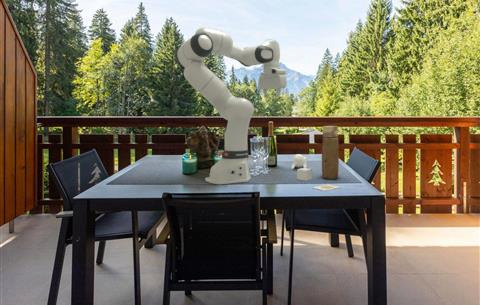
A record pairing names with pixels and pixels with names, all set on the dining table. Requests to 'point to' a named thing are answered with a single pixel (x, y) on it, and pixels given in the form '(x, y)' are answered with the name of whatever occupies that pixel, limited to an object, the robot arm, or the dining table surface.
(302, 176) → the grey cube
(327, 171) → the block
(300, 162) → the white figurine
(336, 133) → the oak cube
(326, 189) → the card
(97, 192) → the dining table surface
